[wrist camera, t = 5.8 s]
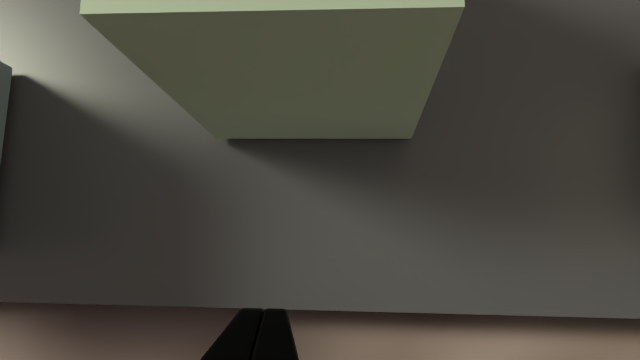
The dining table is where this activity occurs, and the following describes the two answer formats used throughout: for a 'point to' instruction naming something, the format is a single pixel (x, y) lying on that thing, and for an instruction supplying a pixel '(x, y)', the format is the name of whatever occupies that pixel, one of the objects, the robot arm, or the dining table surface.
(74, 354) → the dining table surface
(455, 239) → the keypad base
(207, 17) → the light green rectangular block
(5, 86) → the slate key
